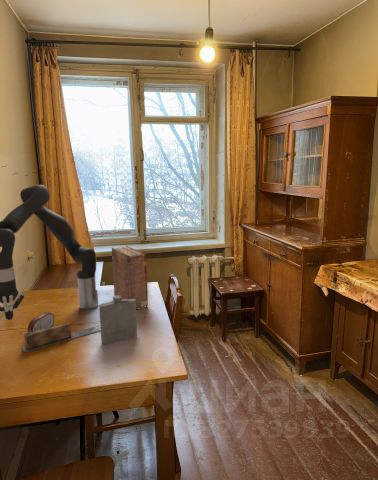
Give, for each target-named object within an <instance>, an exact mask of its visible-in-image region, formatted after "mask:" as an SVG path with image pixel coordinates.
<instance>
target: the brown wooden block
mask: <svg viewBox="0 0 378 480" xmlns="http://www.w3.org/2000/svg"><path fill="white" fill-rule="evenodd" d="M71 333H72V328H71V323H70V322H66V323H62V324H59V325H53V326H52V327H50V328H46V329H42V330H38V331H34V332H28V331H27V332H24V333H23V334H24V342H25V346H26V348H27V350H29V349H33V347H36V346H39V345H43V344H47V343H50V342H54V341H57V340H61V339H64V338H68V337H71Z"/></svg>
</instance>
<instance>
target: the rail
mask: <svg viewBox="0 0 378 480" xmlns="http://www.w3.org/2000/svg"><path fill="white" fill-rule="evenodd" d="M98 332H101V327H100V324H99V325H97V326H93V327H89V328H86V329H82V330H78V331H75V332H71V337H68V338H64V339H61V340H57V341H54V342H50V343H47V344H43V345H39V346H36V347H33V349H29V350H27V348H26V345H24V346H21V349H22V351H23V353H28V352H29V353H30V352H32V351H36V350H38V349H42V348H46V347H49V346H53V345H57V344H61V343H63V342H67V341H70V340H74V339H77V338H81V337H84V336H88V335H92V334H94V333H98Z"/></svg>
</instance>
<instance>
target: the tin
mask: <svg viewBox="0 0 378 480" xmlns="http://www.w3.org/2000/svg"><path fill="white" fill-rule="evenodd" d="M54 314H55V313H52V312H50V311H45V312H42V313H40V314H38V315H37V316H35V317H33V318H32V319H31V320H30V321H29V323H28V325H27V332H34V331H38V330H42V329H46V328H50V327H54V324H55V315H54Z"/></svg>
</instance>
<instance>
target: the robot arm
mask: <svg viewBox="0 0 378 480" xmlns="http://www.w3.org/2000/svg"><path fill="white" fill-rule="evenodd" d="M19 196H20V199H21V201H22V204H19V206H17V207H15V208H14V209H12V210H11V211H9V213H8V214H7V215H6V216H5V217H4V218H3V219H2V220H1V221H0V247H1V250H0V303H1V305H2V306H1V305H0V312H4V317H5V319H6V320H7V321H10V320H11V321H12V320H13V318H14V309H17V308H19V306H20V304H21V303H22V301H23V300H24V298H25V295H24V293H20V292H19V291H18V289H17V280H16V272H15V269H14V261H13V254H14V250H15V249H14V247H15V243H16V235H15V234H16V233H18V232H19V231H20V230H21V228H22V227H23V226H24V225H25V223H26V222H27V221H28V220H29V219H30V218H31V217H32V216H33V215H35V216H36V217H37V218H38V219H39V220H40V221H41V223H42V224H44V226H45V227H46V228H47V229H48V230H49V231H50V233H51V234H53V236H54V237H55V238H56V240H58V241H59V243H60V244H61V245H62V246H63V247H64V248H65V249H66V251H67V252H68V254H69V255H70V257H71V259H72V260H73V261H74V262H75V263H76V264H79V265H81V270H78V271H77V273H76V278H77V289H78V291H77V292H78V302H79V303H78V304H79V308H80V309H81V310H91V309H95V308H97V307H99V294H98V289H97V286H96V285H97V284H96V283H97V282H96V271H97V255H96V251H95V250H94V249H93V248H90V247H85V246H82V245H81V244H80V243H79V242H78V241H77V240H76V238H75V232H74V229H73V227H72V226H71V225H70V223H69V222H68V220H67V219H66V218H64V216H62V215H60V214H58V213H57V212H54V211H52V210H50V209H48V208H47V207H46V206H45V205H46V204H47V203H49V201H50V198H51V197H50V196H51V194H50V191H49V189H48V188H47V187H46V186H45V185H43V184H35V185H31V186H29V187H25V188H23V189H21V191H20V194H19ZM14 301H15V302H14Z"/></svg>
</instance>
